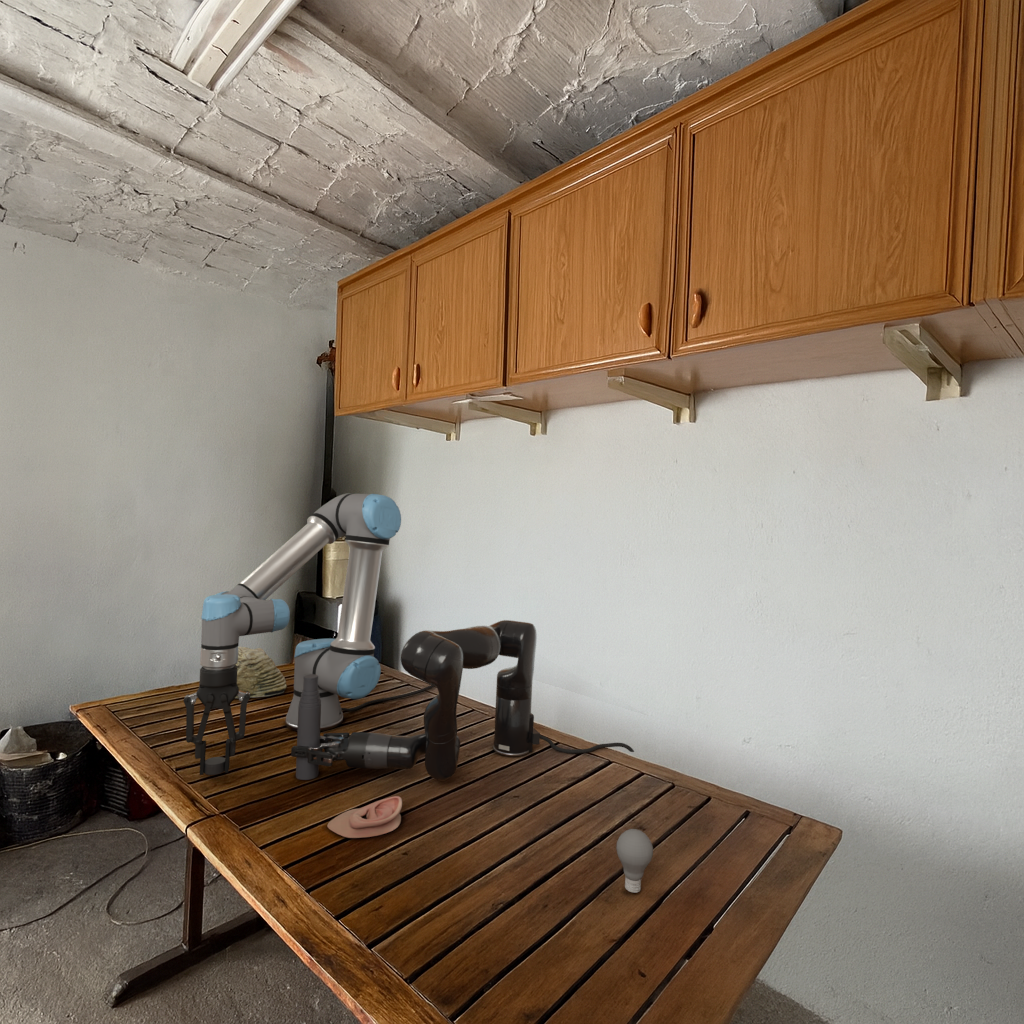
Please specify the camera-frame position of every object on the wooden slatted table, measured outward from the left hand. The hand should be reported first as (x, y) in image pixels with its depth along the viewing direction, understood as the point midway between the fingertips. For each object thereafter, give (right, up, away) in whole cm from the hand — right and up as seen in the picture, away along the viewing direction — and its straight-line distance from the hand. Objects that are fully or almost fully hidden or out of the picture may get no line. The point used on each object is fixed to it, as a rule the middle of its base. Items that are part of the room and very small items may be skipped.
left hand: (214, 770), depth 140 cm
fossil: (-15, 0, +58) cm, 60 cm away
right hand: (+17, +4, +4) cm, 18 cm away
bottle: (+19, -3, +4) cm, 20 cm away
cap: (0, +2, 0) cm, 2 cm away
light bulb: (+86, -6, -34) cm, 92 cm away
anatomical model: (+37, -4, -16) cm, 41 cm away
